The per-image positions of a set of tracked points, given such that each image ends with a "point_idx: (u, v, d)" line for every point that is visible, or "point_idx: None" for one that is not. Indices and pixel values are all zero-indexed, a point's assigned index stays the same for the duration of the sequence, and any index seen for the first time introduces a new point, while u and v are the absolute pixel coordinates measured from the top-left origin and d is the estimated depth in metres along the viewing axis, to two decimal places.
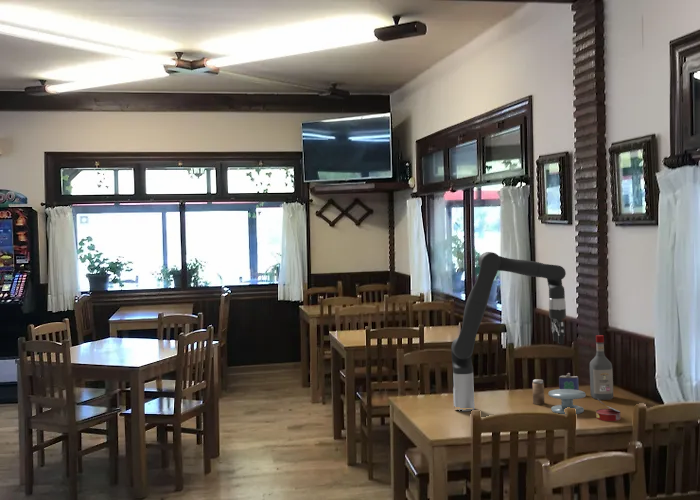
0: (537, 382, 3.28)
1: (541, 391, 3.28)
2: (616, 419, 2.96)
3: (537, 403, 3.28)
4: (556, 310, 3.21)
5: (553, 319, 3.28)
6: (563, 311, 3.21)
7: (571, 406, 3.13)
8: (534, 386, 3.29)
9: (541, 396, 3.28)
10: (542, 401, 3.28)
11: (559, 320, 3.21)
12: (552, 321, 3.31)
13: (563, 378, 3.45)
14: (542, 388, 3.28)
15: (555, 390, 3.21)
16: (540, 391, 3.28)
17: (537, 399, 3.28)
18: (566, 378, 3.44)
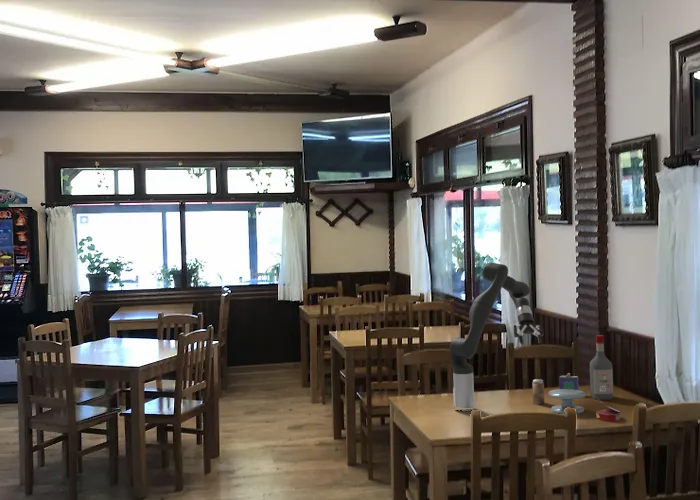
0: (537, 382, 3.28)
1: (541, 391, 3.28)
2: (616, 419, 2.96)
3: (537, 403, 3.28)
4: (532, 315, 3.51)
5: (521, 324, 3.48)
6: None
7: (571, 406, 3.13)
8: (534, 386, 3.29)
9: (541, 396, 3.28)
10: (542, 401, 3.28)
11: None
12: (516, 327, 3.48)
13: (563, 378, 3.45)
14: (542, 388, 3.28)
15: (555, 390, 3.21)
16: (540, 391, 3.28)
17: (537, 399, 3.28)
18: (566, 378, 3.44)
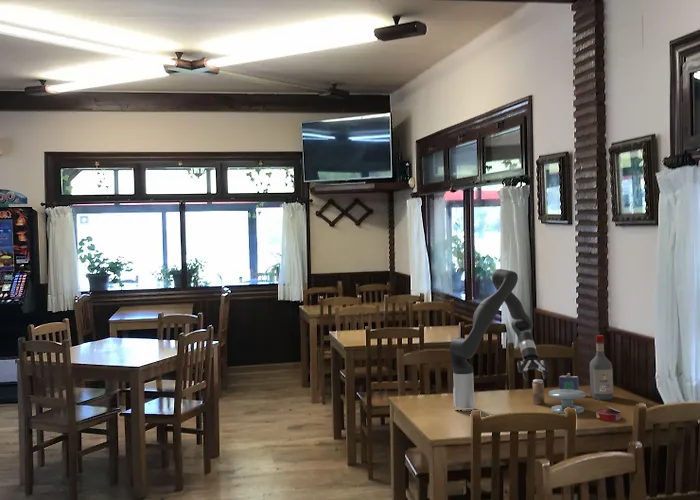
0: (537, 382, 3.28)
1: (541, 391, 3.28)
2: (616, 419, 2.96)
3: (537, 403, 3.28)
4: (536, 350, 3.44)
5: (525, 359, 3.41)
6: None
7: (571, 406, 3.13)
8: (534, 386, 3.29)
9: (541, 396, 3.28)
10: (542, 401, 3.28)
11: None
12: (520, 362, 3.40)
13: (563, 378, 3.45)
14: (542, 388, 3.28)
15: (555, 390, 3.21)
16: (540, 391, 3.28)
17: (537, 399, 3.28)
18: (566, 378, 3.44)
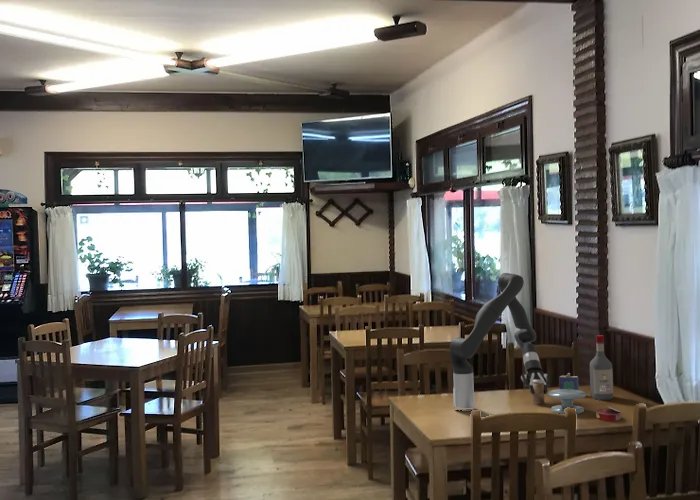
0: (537, 382, 3.28)
1: (541, 391, 3.28)
2: (616, 419, 2.96)
3: (537, 403, 3.28)
4: (539, 362, 3.39)
5: (528, 372, 3.36)
6: None
7: (571, 406, 3.13)
8: (534, 386, 3.29)
9: (541, 396, 3.28)
10: (542, 401, 3.28)
11: None
12: (524, 376, 3.34)
13: (563, 378, 3.45)
14: (542, 388, 3.28)
15: (555, 390, 3.21)
16: (540, 391, 3.28)
17: (537, 399, 3.28)
18: (566, 378, 3.44)
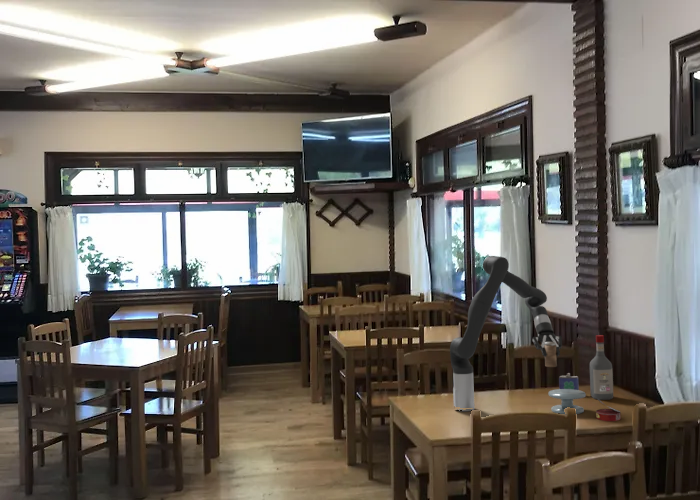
0: (549, 344, 3.21)
1: (553, 353, 3.21)
2: (616, 419, 2.96)
3: (550, 365, 3.21)
4: (551, 325, 3.32)
5: (539, 334, 3.28)
6: None
7: (571, 406, 3.13)
8: (546, 348, 3.22)
9: (553, 358, 3.21)
10: (554, 363, 3.21)
11: None
12: (535, 338, 3.27)
13: (563, 378, 3.45)
14: (554, 350, 3.21)
15: (555, 390, 3.21)
16: (553, 353, 3.21)
17: (549, 362, 3.21)
18: (566, 378, 3.44)
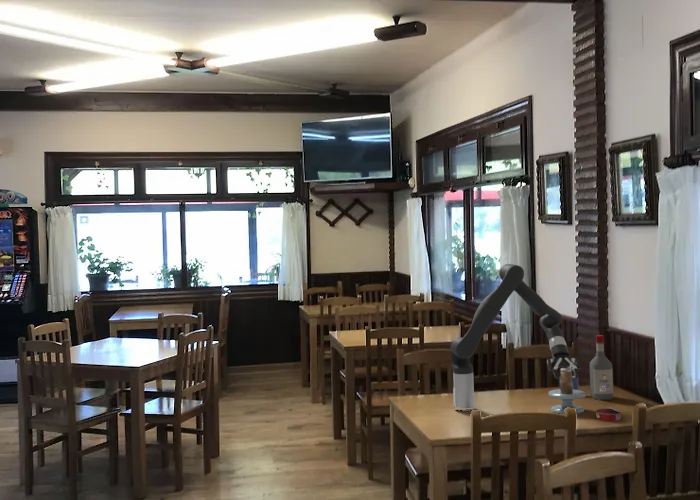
0: (565, 370, 3.13)
1: (569, 380, 3.13)
2: (616, 419, 2.96)
3: (565, 392, 3.13)
4: None
5: (555, 357, 3.20)
6: None
7: (571, 406, 3.13)
8: (562, 375, 3.14)
9: (569, 385, 3.13)
10: (570, 390, 3.13)
11: None
12: (550, 360, 3.20)
13: None
14: (570, 377, 3.13)
15: (555, 390, 3.21)
16: (568, 380, 3.13)
17: (564, 388, 3.13)
18: None
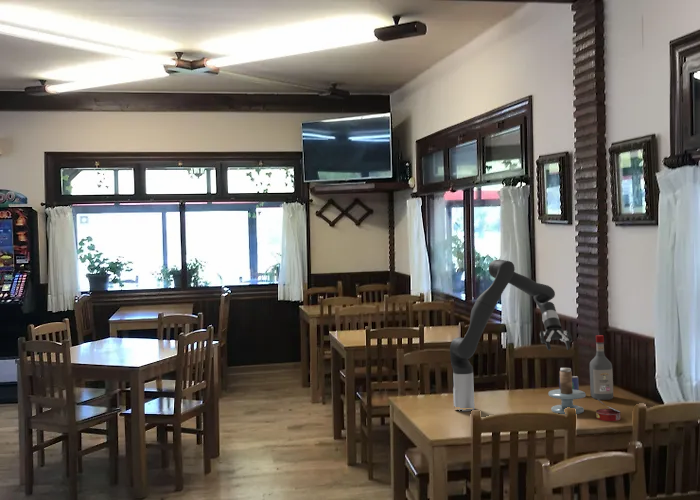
0: (565, 370, 3.13)
1: (569, 380, 3.13)
2: (616, 419, 2.96)
3: (565, 393, 3.13)
4: None
5: (548, 330, 3.31)
6: None
7: (571, 406, 3.13)
8: (562, 375, 3.14)
9: (569, 385, 3.13)
10: (570, 390, 3.13)
11: None
12: (542, 332, 3.30)
13: None
14: (570, 377, 3.13)
15: (555, 390, 3.21)
16: (568, 380, 3.13)
17: (564, 389, 3.13)
18: None
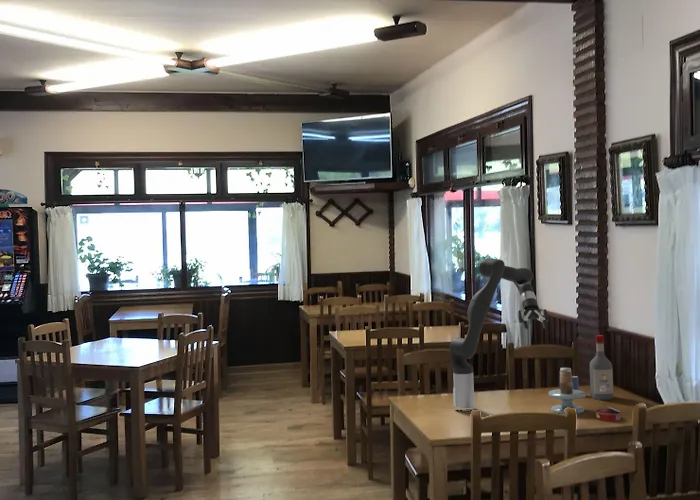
0: (565, 370, 3.13)
1: (569, 380, 3.13)
2: (616, 419, 2.96)
3: (565, 393, 3.13)
4: (536, 301, 3.47)
5: (525, 310, 3.44)
6: None
7: (571, 406, 3.13)
8: (562, 375, 3.14)
9: (569, 385, 3.13)
10: (570, 390, 3.13)
11: None
12: (520, 312, 3.43)
13: None
14: (570, 377, 3.13)
15: (555, 390, 3.21)
16: (568, 380, 3.13)
17: (564, 389, 3.13)
18: None
